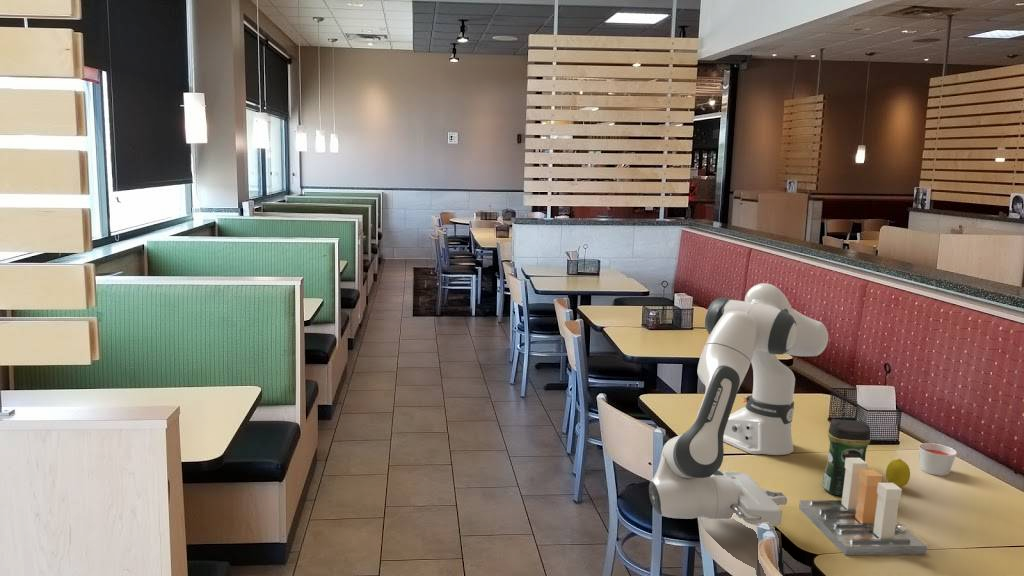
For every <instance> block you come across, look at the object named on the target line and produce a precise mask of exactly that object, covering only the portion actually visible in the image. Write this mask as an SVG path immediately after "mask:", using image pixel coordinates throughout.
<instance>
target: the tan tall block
mask: <svg viewBox="0 0 1024 576" xmlns="http://www.w3.org/2000/svg"><path fill="white" fill-rule="evenodd" d="M859 481H860V482H859V490H858V498H857V506H856V514H855V518H856V519H857V520H858V521H860V522H861V523H874V521H875V514H876V506H877V498H878V494H877V487H878V483H883V475H882V474H881V473H879V472H878V471H876V470H875V469H867V470H860V472H859Z"/></svg>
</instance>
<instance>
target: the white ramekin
mask: <svg viewBox="0 0 1024 576" xmlns="http://www.w3.org/2000/svg"><path fill="white" fill-rule="evenodd" d="M918 450H919V452H918V453H919V465H920V469H921V471H923V472H925V474H926V473H927V474H929V475H933V476H938V477H939V476H940V477H942V476H943V477H944V476H948V475H949V474H950V473H951V469H952V467H953V464H954V461H955V459H956V457H957V456H956V455H957V450H955V449H954V448H952V447H950V446H947V445H944V444H939V443H935V442H933V443H932V442H923V443H922V442H921V443H919V445H918Z"/></svg>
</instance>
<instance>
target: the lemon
mask: <svg viewBox="0 0 1024 576" xmlns="http://www.w3.org/2000/svg"><path fill="white" fill-rule="evenodd" d="M910 477H911V469H910V467H909V465H908V463H907V462H906V461H904V460H902V459H901V458H898V459H894V460H891V461H890V462H889V463H888V465H887V466H886V470H885V478H886V481H887V483H894V484H895V485H897V486H898V487H899V488H903V487H905V486H906V485H907V484H908V483H909V481H910Z"/></svg>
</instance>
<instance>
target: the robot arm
mask: <svg viewBox="0 0 1024 576" xmlns="http://www.w3.org/2000/svg"><path fill="white" fill-rule="evenodd" d="M704 317H705V318H704V328H705V330H706V331H707V333H708V335H709V336H708V337H707V340H706V342H705V344H704V347H703V348H702V351H701V354H700V357H699V361H698V364H697V376H698V378H699V379H700V382H701V383H702V384H703V385H704V387H705V392H704V396H703V399H702V402H701V404H700V407H699V408H698V412H697V415H696V418H695V420H694V422H693V424H692V425H691V426H690V428H688V429H687V430H686V431H685V432H684V433H682V434H679V435H677V436H674V437H672V438H670V439H668V440H667V441H666V442H665V443H664V444H663V446H662V448H661V452H660V460H659V463H658V467H657V470H656V471H655V474H654V476H653V478H652V479H651V480H650V482H649V484H648V494H649V499H650V503H651V505H652V507H653V509H654V511H655V512H656V513H657V514H658V515H660V516H662V517H666V518H670V519H671V518H672V519H685V520H686V519H687V520H688V519H690V520H692V519H697V518H706V519H711V520H713V519H715V520H716V519H717V520H720V519H723V520H725V519H727V520H729V518H731V517H732V515H733V513H736V516H737V518H739V519H742V520H743V521H744V522H745V523H747V524H749V525H754V526H757V525H756V524H758V523H760V522H769V523H771V524H772V525H773V526H772V527H778V526H780V525H781V524H782V519H783V509H782V508H781V507H780V506H785V505H787V503H788V497H786V495H784V493H783V492H782V491H774V490H770V489H768V488H762V487H761V486H760V485H759V484H758V483H757V482H756V481H755V479H754V478H752V476H750V474H748V473H745V472H742V471H731V470H730V471H726V470H725V471H721V470H720V468H721V466H722V464H723V461H724V455H725V454H724V452H725V450H724V443H726V444H728V445H730V446H732V447H733V448H734V447H735V448H737V449H740V450H742V451H744V452H746V453H749V454H752V455H770V456H783V455H785V456H786V455H789V454H792V453H793V452H794V450H795V448H794V445H793V437H792V422H793V418H794V412H795V411H794V409H795V408H794V407H795V401H794V392H795V385H796V377H795V375H794V372H793V371H792V370H791V369H790V367H789V366H787V365H785V364H784V363H782V362H781V361H780V360H779V359H778V357H777V355H781V356H782V355H790V356H794V357H795V356H796V357H817V356H819V355H821V354H822V353H823V352H824V351H825V349H826V348H827V345H828V341H829V332H828V329H827V327H826V326H825V324H824V323H823V322H822V321H818V320H816V319H814V318H811V317H809V316H806V315H804V314H803V313H801V312H799V311H798V310H796V309H794V308H792V306H791V303H790V302H789V300H788V298H787V297H786V295H785V294H784V293H783V292H782V290H781V289H780V288H778V287H777V286H776V285H774V284H771V283H765V282H761V283H757V284H755V285H753V286H752V287H751V288H750V289H749V290H748V291H747V292H746V294H745V297H744V300H737V299H732V298H731V297H730V298H729V297H717V298H715V299H714V300H713V301H712V302H711V303H710V304H709V306H708V307H707V310H706V312H705V316H704ZM750 365H751V367H752V371H753V372H752V374H753V383H752V384H753V385H752V394H751V395H747V396H746V397H744V398H743V401H742V403H746V405H745V406H743V407H742V408H739V409H738V410H736V411H734V412H732V409H733V407H734V404H735V400H736V397H737V395H738V392H739V390H740V387H741V385H742V383H743V381H744V379H745V377H746V375H747V373H748V371H749V368H750Z"/></svg>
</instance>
